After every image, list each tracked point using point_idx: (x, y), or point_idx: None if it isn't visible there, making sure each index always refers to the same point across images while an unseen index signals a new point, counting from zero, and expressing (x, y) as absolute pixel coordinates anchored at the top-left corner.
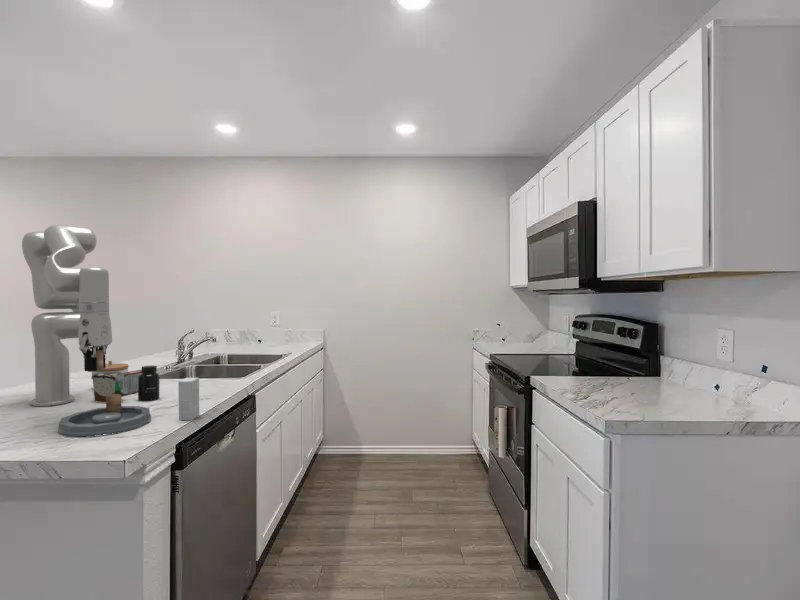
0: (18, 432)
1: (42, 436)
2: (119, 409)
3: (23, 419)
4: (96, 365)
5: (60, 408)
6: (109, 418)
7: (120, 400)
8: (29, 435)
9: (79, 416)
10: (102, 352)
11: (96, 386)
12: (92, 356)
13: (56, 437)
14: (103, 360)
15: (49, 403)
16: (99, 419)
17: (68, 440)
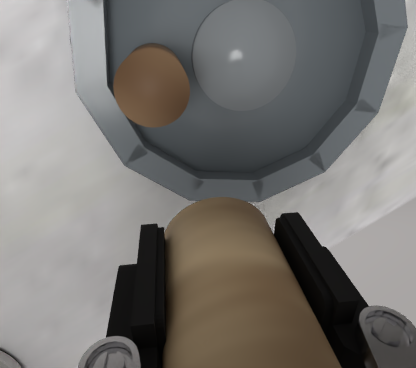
0: None
1: (332, 182)
2: (160, 46)
3: None
4: (305, 236)
5: (30, 318)
6: (287, 23)
7: (152, 47)
8: (313, 219)
9: (210, 174)
10: (257, 347)
11: None
12: (403, 323)
13: (354, 139)
14: (163, 277)
15: (9, 363)
16: (293, 61)
17: (398, 84)
